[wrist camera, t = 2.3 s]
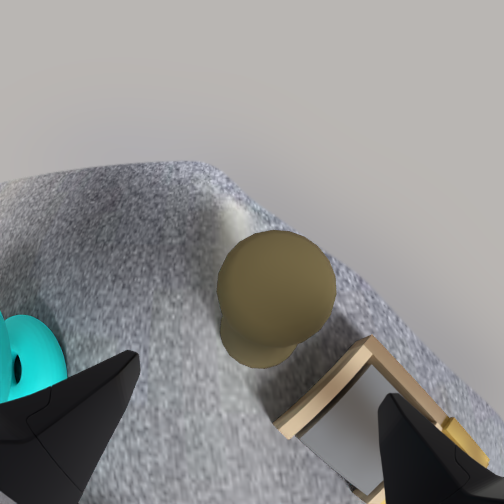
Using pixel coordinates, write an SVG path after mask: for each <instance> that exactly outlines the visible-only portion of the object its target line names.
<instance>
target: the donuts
mask: <svg viewBox="0 0 504 504" xmlns="http://www.w3.org/2000/svg"><path fill="white" fill-rule="evenodd" d="M17 354H18V356H19V358H20V361H21V366H22V374H21V379H20V381H19V383H18V384H17V382H16V379H15V374H14V363H15V359H16V356H17ZM65 379H67V369H66V363H65V359H64V355H63V352H62V350H61V347H60V345H59V343H58V341H57V339H56V337H55V336H54V334H53V333H52V332H51V330H50V329H49V328H48V327H47V326H46V325H45V324H44V323H43V322H41V321H40V320H38V319H36V318H34V317H32V316H29V315H15V316H12V317H9V318H8V319H6V320H5V321H4V318H3V316H2V313H1V311H0V403H4V402H7V401H11V400H14V399H17V398H21V397H24V396H27V395H30V394H32V393H35V392H37V391H40V390H42V389H44V388H47V387H49V386H52V385H54V384H56V383H58V382H60V381H62V380H65Z"/></svg>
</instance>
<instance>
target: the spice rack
mask: <svg viewBox="0 0 504 504" xmlns="http://www.w3.org/2000/svg"><path fill="white" fill-rule="evenodd" d="M388 393H399V394H400V395H401V396H402V397H404V398H405V399H406V400H407V401H408V402H409V403H410V404H411V405H412V406H414V407H415V408H416V409H417V410H418V411H419V412H420V413H421V414H422V415H424V416H425V417H426V418H427V419H428V420H429V421H430V422H431V423H433V424H434V425H435V426H436V427H437V428H438V429H439V430H440V431H441V432H443V433H444V434H445V435H446V436H447V437H448V438H449V439H450V440H452V441H453V442H454V443H455V444H456V445H457V446H458V447H460V448H461V449H462V450H463V451H464V452H465V453H467V454H468V455H469V456H470V457H472V458H473V459H474V460H476V461H477V462H478V463H480V464H481V465H483V466H484V467H485V468H487V466H488V465H489V464H488V462H489V460H490V459H489V458H488V457H487V456H486V455H485V453H484V452H483V451H482V450H481V448H480V447H479V446H478V445H477V444H476V442H475V441H474V440H473V439H472V438H471V436H470V435H469V434H468V433H467V432H466V431H465V429H464V428H463V427H462V426H461V425H460V424H459V422H458V421H457V420H456V419H455V418H454V417H450V418H449V417H448V416H447V415H446V414H445V413H444V411H443V410H442V409H441V408H440V407H439V406H438V405H437V404H436V402H435V401H434V400H433V399H432V398H431V397H430V396H429V395H428V394H427V393H426V391H425V390H424V389H423V388H422V387H421V386H420V385H419V384H418V383H417V382H416V381H415V379H414V378H413V377H412V376H411V375H410V374H409V373H408V372H407V371H406V370H405V369H404V368H403V366H402V365H401V364H400V363H399V362H398V361H397V360H396V359H395V358H394V357H393V356H392V355H391V354H390V353H389V352H388V351H387V349H386V348H385V347H384V346H383V345H382V344H381V343H380V342H379V341H378V340H377V339H376V338H375V337H374V336H373V335H370V336H367V337H365V338H363V339H361V340H358V341H356V342H355V343H354V344H353V345H352V346H351V347H350V349H349V350H348V351H347V352H346V353H345V354H344V355H343V356H342V357H341V358H340V360H339V361H338V362H337V363H336V364H335V365H334V366H333V367H332V368H331V369H330V370H329V371H328V372H327V373H326V374H325V375H324V376H323V377H322V378H321V379H320V380H319V381H318V382H317V383H316V384H315V385H314V386H313V387H312V388H311V389H310V390H309V391H308V392H307V393H306V394H305V395H304V396H303V397H302V398H300V399H299V400H298V401H297V402H296V403H295V404H294V405H293V406H292V407H291V408H290V409H288V410H287V411H286V412H285V413H284V414H283V415H282V416H280V417H279V418H278V419H277V420H276V421H275V422H273V423H272V424H273V425H274V426H275V427H276V428H277V429H278V430H279V431H280V432H281V433H282V434H283V435H284V436H285V437H286V438H287V439H288V440H289V439H290V438H292V437H293V436H294V435H295V436H296V437H297V438H298V439H299V440H300V441H301V442H302V443H303V444H304V445H306V446H307V447H308V448H309V449H310V450H311V451H312V452H313V453H315V454H316V455H317V456H318V457H319V458H320V459H321V460H323V461H324V462H325V463H326V464H327V465H328V466H330V467H331V468H332V469H333V470H334V471H336V472H337V473H338V474H339V475H341V476H342V477H343V478H344V479H346V480H347V481H348V482H349V483H351V484H352V485H353V486H355V487H356V489H355V490H354V491H353V492H352V493H354V494H355V495H356V496H357V497H359V498H360V499H361V500H363V501H364V502H365V503H367V504H386V502H385V490H384V481H383V472H382V464H381V456H380V449H379V433H378V414H377V412H378V408H379V406H380V404H381V403H382V401H383V400H384V398H385V396H386V395H387V394H388Z"/></svg>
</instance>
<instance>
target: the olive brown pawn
mask: <svg viewBox="0 0 504 504" xmlns="http://www.w3.org/2000/svg"><path fill="white" fill-rule="evenodd" d="M217 295H218V300H219V304H220V308H221V312H222V314H223V317H222V319H221V327H220V334H221V339H222V343H223V345H224V347H225V349H226V350H227V352H228V353H229V355H230V356H231V357H233V358H234V359H235V360H236V361H238V362H239V363H240V364H243V365H245V366H248V367H251V368H263V369H265V368H269V367H273V366H276V365H278V364H280V363H281V362H283V361H284V360H286V359H287V358H288V357H289V356H290V355H291V354H292V352H293V351H294V350H295V348H296V346H297V344H299V343H302V342H304V341H305V340H307V339H308V338H310V337H311V336H312V335H314V334H315V333H317V332H318V331H319V330H320V329H321V328H322V327H323V325H324V324H325V322H326V321H327V319H328V318H329V316H330V315H331V312H332V308H333V305H334V301H335V297H336V278H335V274H334V272H333V269H332V266H331V264H330V261H329V260H328V259H327V257H326V256H325V255H324V253H323V252H322V251H321V250H320V248H319V247H318V246H317V245H315V244H314V243H312V242H311V241H310V240H308V239H307V238H305V237H304V236H301V235H298V234H296V233H293V232H290V231H280V230H270V231H265V232H260V233H255V234H253V235H251V236H249V237H247V238H246V239H244V240H242V241H240V242H239V243H238V244H237V245H236V246H235V247H234V248H233V249H232V250H231V251H230V252H229V253H228V255H227V257H226V259H225V261H224V263H223V265H222V267H221V269H220V271H219V274H218V283H217Z"/></svg>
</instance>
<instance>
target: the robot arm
mask: <svg viewBox="0 0 504 504" xmlns="http://www.w3.org/2000/svg"><path fill="white" fill-rule="evenodd" d="M139 375H140V360H139V354H138V353H137V352H134V351H131V350H126V351H124V352H122V353H119V354H117V355H115V356H113V357H111V358H109V359H107V360H105V361H103V362H101V363H99V364H97V365H95V366H92V367H90V368H88V369H86V370H84V371H82V372H80V373H78V374H75V375H73V376H71V377H69V378H67V379H65V380H62V381H60V382H58V383H56V384H54V385H52V386H49V387H47V388H44V389H42V390H40V391H37V392H35V393H32V394H30V395H27V396H24V397H21V398H17V399H14V400H11V401H7V402H4V403H0V504H78V502H79V500H80V498H81V496H82V494H83V493H82V492H84V489H85V487H86V485H87V483H88V481H89V479H90V477H91V475H92V473H93V471H94V469H95V467H96V465H97V463H98V461H99V460H100V458H101V456H102V454H103V452H104V450H105V448H106V446H107V444H108V442H109V440H110V438H111V436H112V434H113V433H114V431H115V429H116V427H117V425H118V423H119V421H120V419H121V418H122V416H123V414H124V412H125V410H126V408H127V406H128V403H129V401H130V398H131V395H132V393H133V390H134V388H135V385H136V383H137V380H138V378H139ZM377 414H378V433H379V449H380V456H381V464H382V472H383V481H384V490H385V502H386V504H504V477H500V476H498V475H496V474H494V473H492V472H491V471H490V470H488V469H487V468H485V467H484V466H483V465H481V464H480V463H478V462H477V461H476V460H474V459H473V458H472V457H470V456H469V455H468V454H467V453H465V452H464V451H463V450H462V449H461V448H460V447H458V446H457V445H456V444H455V443H454V442H453V441H452V440H450V439H449V438H448V437H447V436H446V435H445V434H444V433H443V432H441V431H440V430H439V429H438V428H437V427H436V426H435V425H434V424H433V423H431V422H430V421H429V420H428V419H427V418H426V417H425V416H424V415H422V414H421V413H420V412H419V411H418V410H417V409H416V408H415V407H414V406H412V405H411V404H410V403H409V402H408V401H407V400H406V399H405V398H404V397H402V396H401V395H400V394H399V393H388V394H387V395H386V396H385V398H384V400H383V401H382V403H381V404H380V406H379V408H378V412H377Z"/></svg>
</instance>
